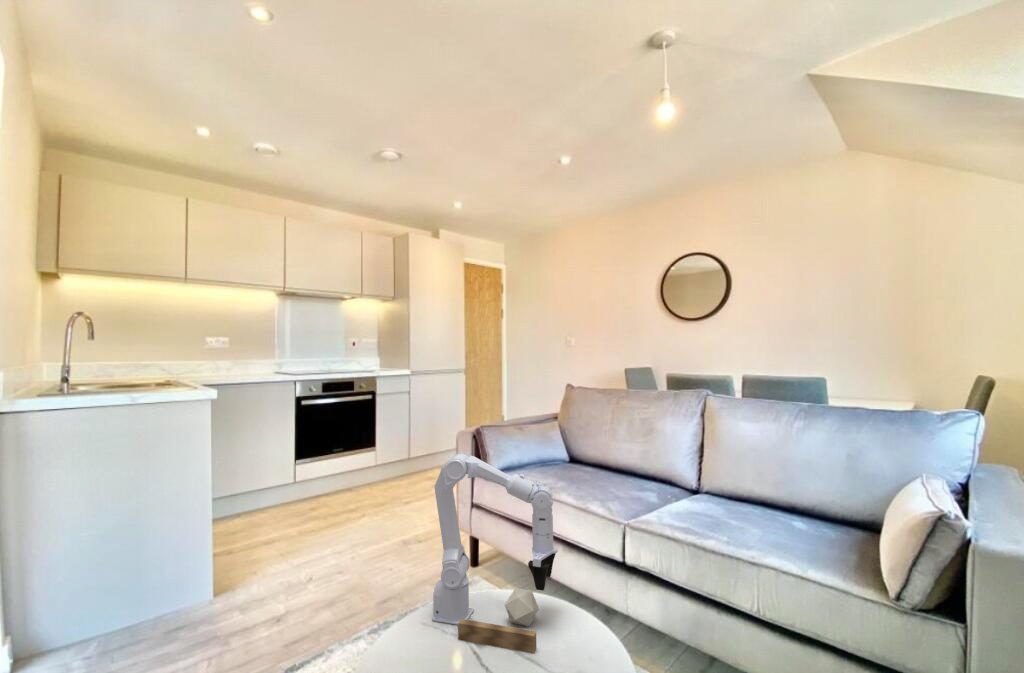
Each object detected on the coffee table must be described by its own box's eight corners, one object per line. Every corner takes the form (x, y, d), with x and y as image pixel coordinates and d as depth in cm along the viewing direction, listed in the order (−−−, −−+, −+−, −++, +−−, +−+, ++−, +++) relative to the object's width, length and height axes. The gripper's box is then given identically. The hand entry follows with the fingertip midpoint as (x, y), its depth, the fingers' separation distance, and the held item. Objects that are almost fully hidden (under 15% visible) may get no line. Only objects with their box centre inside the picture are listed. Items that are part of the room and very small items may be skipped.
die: (543, 620, 119) (529, 583, 125) (542, 619, 112) (527, 580, 117) (516, 633, 118) (503, 595, 123) (513, 633, 111) (499, 593, 116)
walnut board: (458, 639, 110) (458, 623, 110) (461, 635, 112) (461, 618, 112) (534, 653, 104) (534, 636, 104) (536, 648, 106) (536, 631, 106)
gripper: (551, 543, 112) (552, 598, 111) (562, 524, 126) (563, 572, 125) (524, 540, 114) (525, 594, 113) (538, 521, 128) (539, 569, 127)
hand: (543, 582), depth 119 cm, fingers open, 7 cm apart
